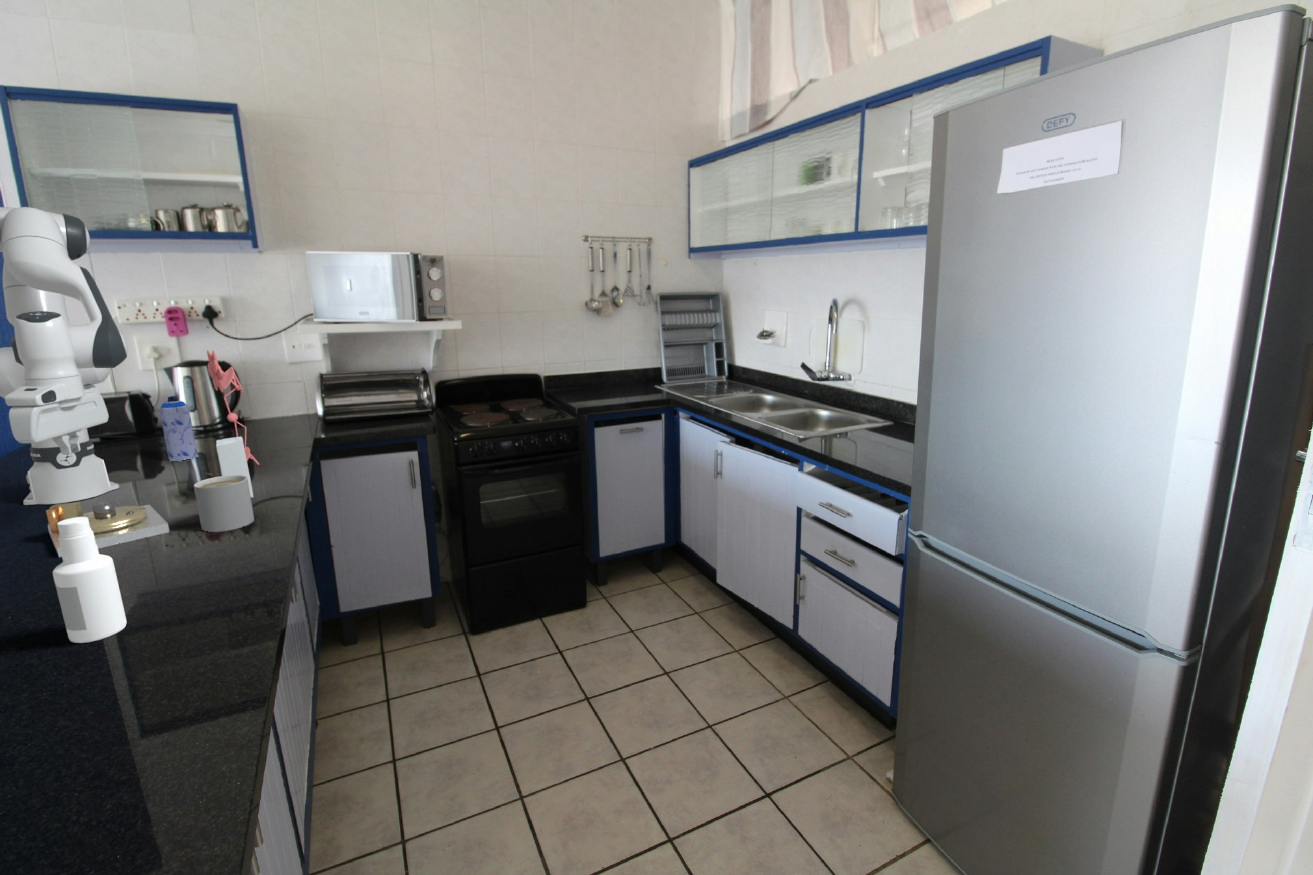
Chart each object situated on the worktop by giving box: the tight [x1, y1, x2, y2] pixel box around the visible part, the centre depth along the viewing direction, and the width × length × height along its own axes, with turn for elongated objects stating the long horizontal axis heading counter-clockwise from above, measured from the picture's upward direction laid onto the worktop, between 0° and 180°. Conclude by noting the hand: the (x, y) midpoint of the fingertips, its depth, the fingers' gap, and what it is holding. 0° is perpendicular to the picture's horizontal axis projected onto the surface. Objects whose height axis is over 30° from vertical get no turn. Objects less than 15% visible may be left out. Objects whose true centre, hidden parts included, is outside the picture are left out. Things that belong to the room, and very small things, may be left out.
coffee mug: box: [193, 475, 255, 533], centre depth 146 cm, size 13×10×10 cm
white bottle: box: [52, 517, 128, 644], centre depth 97 cm, size 7×7×18 cm
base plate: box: [45, 504, 170, 558], centre depth 141 cm, size 20×18×7 cm
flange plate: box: [49, 501, 147, 533], centre depth 141 cm, size 16×14×5 cm
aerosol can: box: [159, 395, 199, 462], centre depth 205 cm, size 8×8×20 cm
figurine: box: [201, 350, 260, 475], centre depth 192 cm, size 15×26×35 cm, turn 42°
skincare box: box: [215, 436, 254, 499], centre depth 165 cm, size 8×6×15 cm
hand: (71, 453), depth 141 cm, fingers closed
